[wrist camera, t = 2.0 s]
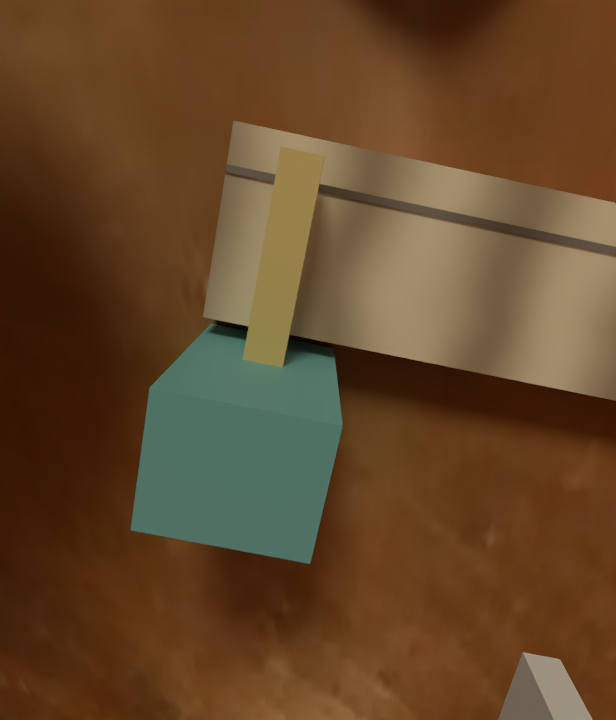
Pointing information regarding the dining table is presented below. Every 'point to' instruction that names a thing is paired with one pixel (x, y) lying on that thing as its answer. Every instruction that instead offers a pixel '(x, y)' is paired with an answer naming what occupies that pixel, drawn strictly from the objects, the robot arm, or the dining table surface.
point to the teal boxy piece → (248, 409)
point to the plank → (430, 263)
